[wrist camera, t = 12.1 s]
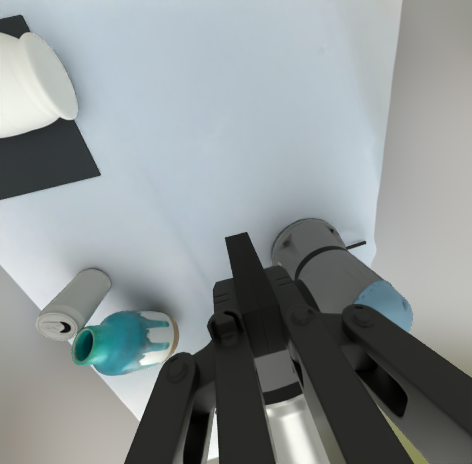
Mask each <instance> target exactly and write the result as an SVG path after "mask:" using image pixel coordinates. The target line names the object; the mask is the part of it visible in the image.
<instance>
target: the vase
mask: <svg viewBox="0 0 472 464" xmlns="http://www.w3.org/2000/svg"><path fill="white" fill-rule="evenodd" d="M178 341H179V329H178V326H177V324H176V322H175V320H174V319H173V318H172V317H171V316H169V315H167V314H165V313H161V312H155V311H143V310H132V311H121V312H117V313H114V314H112V315H110V316H108V317H107V318H105V319H104V320H103V321H102V322H101V324H100V325H95V326H87V327H84V328H83V329H81V330H80V331H79V332H78V334H77V335H76V337H75V339H74V342H73V345H72V359H73V361H74V363H75V364H77V365H90V364H93V365H94V367H95V368H96V370H97V371H98V372H100V373H102V374H104V375H109V376H115V375H124V374H129V373H133V372H138V371H141V370H145V369H148V368H151V367H154V366H156V365H159V364H161V363H163V362H164V361H166V360H167V359H168V358H169V357H170V356H171V355H172V354H173V353H174V351H175V349H176V347H177V345H178Z"/></svg>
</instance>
